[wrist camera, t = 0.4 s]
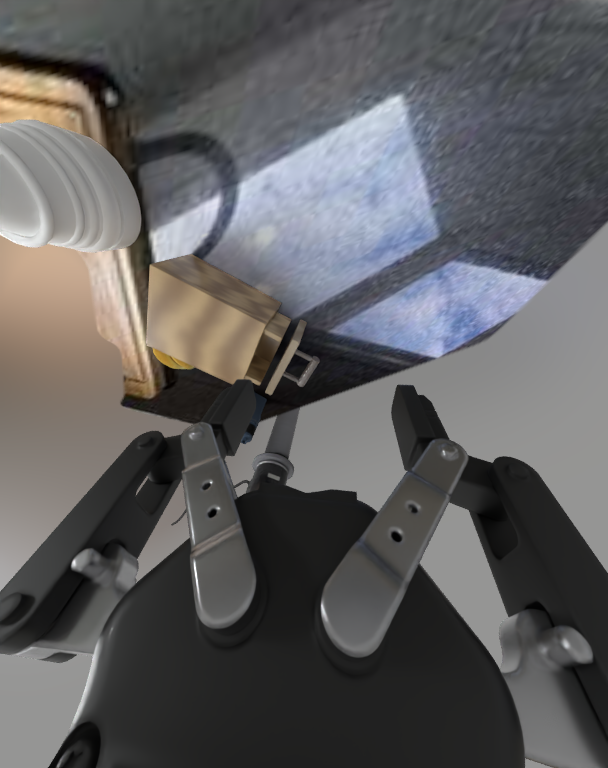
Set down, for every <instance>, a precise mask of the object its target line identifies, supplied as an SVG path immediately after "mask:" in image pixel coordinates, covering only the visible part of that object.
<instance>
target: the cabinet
mask: <svg viewBox="0 0 608 768" xmlns="http://www.w3.org/2000/svg"><path fill="white" fill-rule="evenodd" d="M280 305H281V302H279V301H277V300H276V299H274V298H272V297H270V296H268V295H266V294H264V293H263V292H261V291H259V290H257V289H255V288H253V287H251V286H250V285H248V284H246V283H244V282H242V281H240V280H239V279H237V278H235V277H233V276H231V275H229V274H227V273H226V272H224V271H222V270H220V269H218V268H216V267H215V266H213V265H211V264H209V263H207V262H205V261H203V260H202V259H200V258H198V257H196V256H194V255H192V254H189V255H185V256H181V257H177V258H173V259H169V260H165V261H161V262H157V263H154V264H150V273H149V294H148V316H147V337H146V345H148V346H150V347H152V348H154V349H157V350H159V351H161V352H163V353H165V354H167V355H170V356H172V357H174V358H176V359H178V360H180V361H183V362H185V363H187V364H189V365H191V366H194V367H196V368H198V369H200V370H202V371H204V372H207V373H209V374H211V375H213V376H215V377H217V378H220V379H222V380H224V381H226V382H228V383H231V384H234V382H235V381H236V380H237V379H244V378H245V376H246V374H247V371H248V369H249V366H250V364H251V361H252V359H253V357H254V354H255V352H256V349H257V347H258V344H259V342H260V340H261V337H262V335H263V332H264V330H265V327H266V326H267V324H268V323H269V322H270V320H271V319H272V317H273V316H274V314H275V313H276V312H278V310H279V308H280Z"/></svg>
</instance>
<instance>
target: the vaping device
mask: <svg viewBox="0 0 608 768" xmlns="http://www.w3.org/2000/svg"><path fill="white" fill-rule="evenodd" d="M254 393H255V392H254ZM255 398H256V409H255V412H254V414H253V416H252V419H251V421H250V423H249V425H248V427H247V429H246V432H245V434H244V436H243V438H242V440H241V443H243V444H246V443H247V442H250V441H251V440H252V437H253V435H254V432H255V430H256V428H257V426H258V423H259V422H260V418H261V413H262V410H263V408H264V406H265V403H266V401H267V399H266V398H264V397H262V396H260V395H259V394H257V393H255Z"/></svg>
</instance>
